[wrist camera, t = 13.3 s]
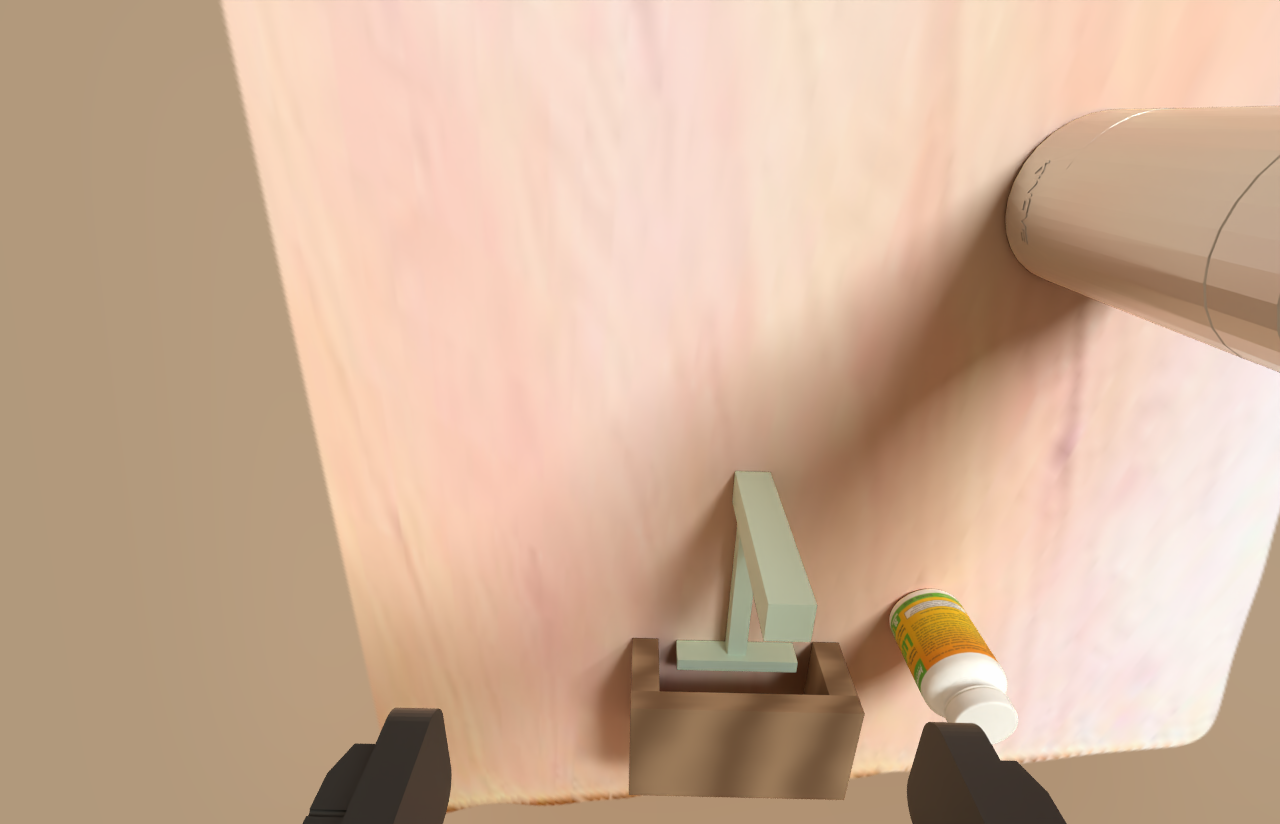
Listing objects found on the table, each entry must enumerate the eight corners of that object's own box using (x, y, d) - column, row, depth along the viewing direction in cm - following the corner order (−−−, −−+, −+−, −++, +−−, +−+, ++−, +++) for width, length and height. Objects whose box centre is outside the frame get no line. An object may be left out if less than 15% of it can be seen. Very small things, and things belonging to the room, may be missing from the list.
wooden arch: (838, 642, 49) (864, 713, 43) (822, 724, 53) (844, 799, 47) (632, 638, 49) (630, 708, 43) (630, 719, 53) (628, 794, 47)
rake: (819, 473, 43) (884, 606, 31) (790, 652, 50) (835, 818, 38) (686, 470, 43) (701, 602, 31) (675, 649, 50) (685, 814, 38)
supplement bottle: (878, 601, 48) (931, 710, 39) (949, 576, 46) (1020, 683, 38) (898, 649, 50) (953, 764, 41) (967, 627, 48) (1038, 740, 40)
